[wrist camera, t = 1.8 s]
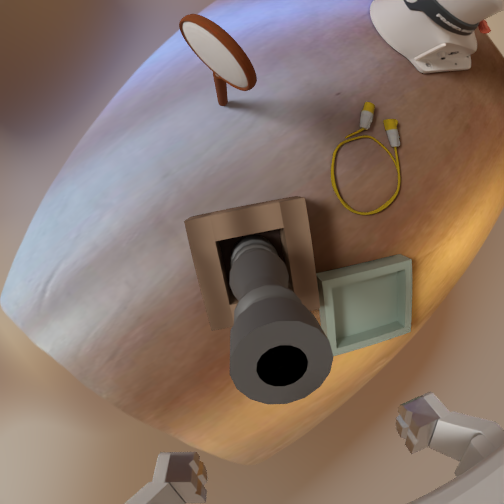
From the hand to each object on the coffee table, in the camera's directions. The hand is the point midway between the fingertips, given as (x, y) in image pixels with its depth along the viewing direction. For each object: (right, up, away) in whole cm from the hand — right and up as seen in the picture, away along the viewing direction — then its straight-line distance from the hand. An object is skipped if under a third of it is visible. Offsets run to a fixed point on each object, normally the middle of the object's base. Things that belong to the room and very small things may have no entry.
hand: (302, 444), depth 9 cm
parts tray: (+15, 0, +32) cm, 36 cm away
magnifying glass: (-6, +27, +25) cm, 37 cm away
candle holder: (-2, +7, +30) cm, 31 cm away
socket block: (-2, +7, +30) cm, 31 cm away
